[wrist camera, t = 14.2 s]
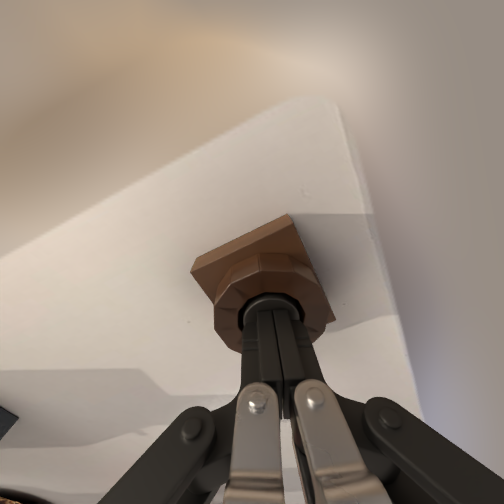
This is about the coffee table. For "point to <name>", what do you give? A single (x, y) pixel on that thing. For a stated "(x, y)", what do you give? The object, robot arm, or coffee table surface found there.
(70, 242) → the coffee table surface
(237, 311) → the button block
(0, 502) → the cactus
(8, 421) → the dial base block
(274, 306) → the button
